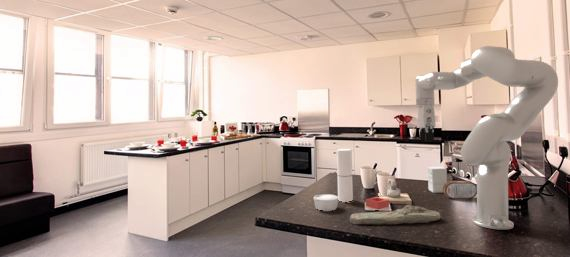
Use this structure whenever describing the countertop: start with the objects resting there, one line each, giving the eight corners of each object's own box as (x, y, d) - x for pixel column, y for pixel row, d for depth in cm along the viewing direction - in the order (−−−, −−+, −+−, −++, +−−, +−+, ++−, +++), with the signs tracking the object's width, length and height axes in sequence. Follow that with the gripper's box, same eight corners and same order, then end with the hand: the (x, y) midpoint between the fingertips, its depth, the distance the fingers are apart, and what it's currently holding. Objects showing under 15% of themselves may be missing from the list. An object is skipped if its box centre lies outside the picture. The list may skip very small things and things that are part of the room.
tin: (475, 197, 151) (475, 180, 151) (478, 199, 148) (478, 181, 148) (442, 197, 153) (442, 180, 152) (445, 199, 150) (445, 181, 149)
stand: (411, 204, 143) (411, 184, 143) (379, 203, 146) (379, 184, 146) (407, 196, 157) (406, 178, 157) (378, 195, 160) (377, 178, 160)
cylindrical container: (337, 202, 150) (336, 150, 150) (338, 198, 157) (337, 149, 157) (352, 202, 149) (351, 150, 148) (353, 198, 156) (351, 148, 155)
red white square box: (389, 206, 139) (388, 199, 139) (378, 209, 136) (377, 202, 136) (376, 203, 145) (376, 196, 145) (366, 205, 142) (365, 199, 141)
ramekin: (320, 203, 149) (319, 193, 149) (342, 206, 143) (342, 195, 143) (309, 210, 139) (309, 198, 139) (333, 213, 134) (332, 201, 133)
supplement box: (442, 189, 169) (442, 166, 168) (447, 192, 161) (447, 168, 161) (428, 189, 170) (427, 166, 169) (432, 192, 162) (432, 168, 162)
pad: (391, 211, 134) (391, 210, 134) (365, 210, 136) (364, 209, 136) (389, 204, 145) (389, 203, 145) (364, 203, 147) (364, 202, 147)
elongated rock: (347, 222, 127) (353, 232, 117) (346, 209, 126) (352, 218, 116) (432, 214, 127) (445, 223, 117) (432, 201, 127) (445, 209, 117)
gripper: (440, 101, 131) (441, 141, 132) (428, 103, 148) (429, 139, 149) (421, 102, 133) (423, 142, 133) (411, 104, 150) (413, 140, 150)
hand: (426, 140), depth 141 cm, fingers open, 9 cm apart
